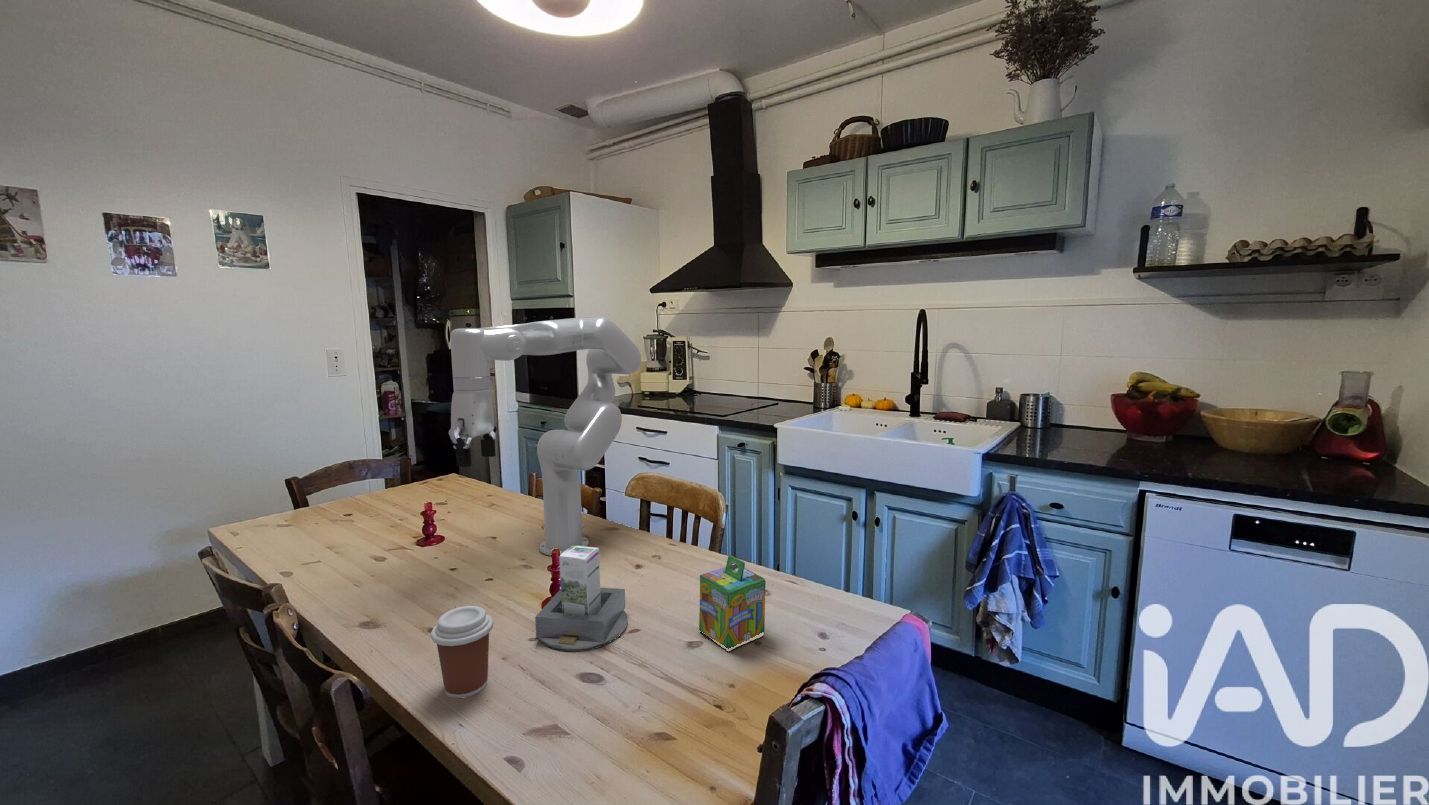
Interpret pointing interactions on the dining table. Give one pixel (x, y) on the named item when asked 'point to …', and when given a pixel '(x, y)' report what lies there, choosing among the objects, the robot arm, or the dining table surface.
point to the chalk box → (732, 604)
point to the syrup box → (580, 580)
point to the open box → (582, 623)
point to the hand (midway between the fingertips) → (476, 461)
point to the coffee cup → (463, 649)
